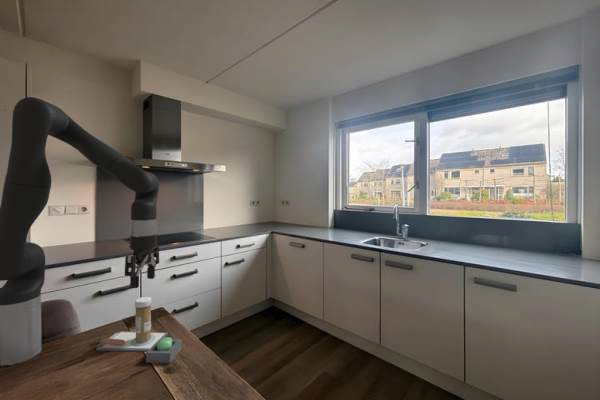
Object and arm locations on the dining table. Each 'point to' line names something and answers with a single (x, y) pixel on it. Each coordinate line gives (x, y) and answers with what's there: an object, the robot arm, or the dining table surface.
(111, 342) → the pink rounded rod
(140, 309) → the sprinkles bottle
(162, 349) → the button
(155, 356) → the button box
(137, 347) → the tray with round recess
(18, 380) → the dining table surface
